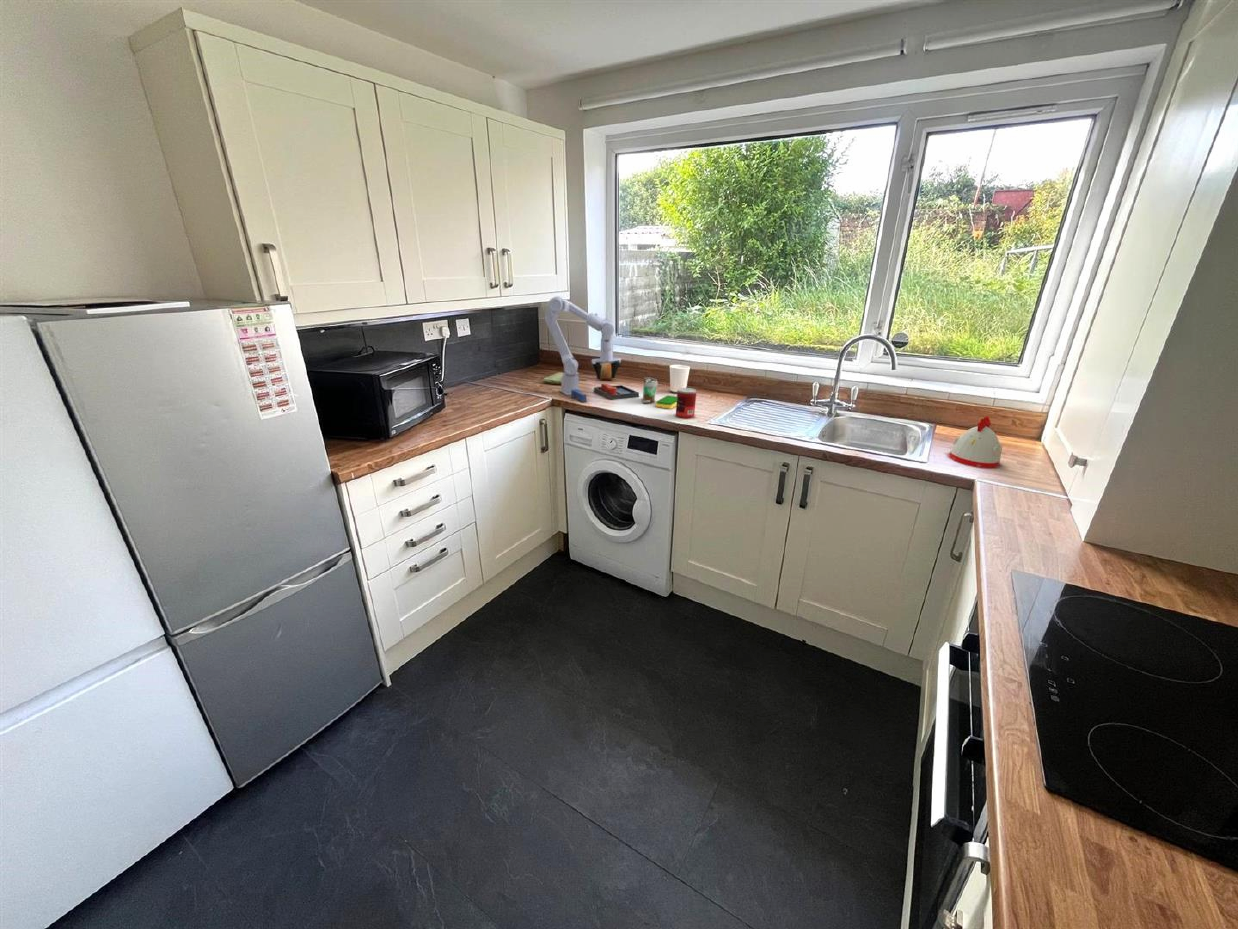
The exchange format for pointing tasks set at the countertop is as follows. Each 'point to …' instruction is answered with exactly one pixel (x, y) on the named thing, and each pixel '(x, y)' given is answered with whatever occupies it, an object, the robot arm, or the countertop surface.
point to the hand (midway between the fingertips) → (605, 378)
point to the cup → (678, 377)
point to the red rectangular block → (609, 389)
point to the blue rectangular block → (578, 395)
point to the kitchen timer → (977, 447)
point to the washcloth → (554, 379)
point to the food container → (649, 390)
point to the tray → (618, 392)
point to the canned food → (685, 402)
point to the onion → (606, 371)
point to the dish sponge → (667, 402)
